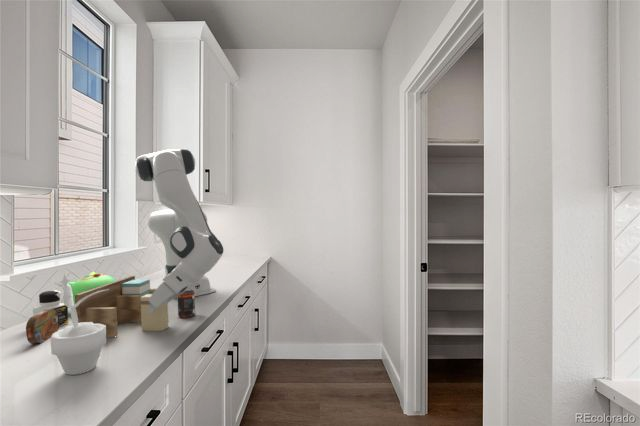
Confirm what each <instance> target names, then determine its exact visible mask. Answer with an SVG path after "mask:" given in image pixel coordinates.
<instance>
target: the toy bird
mask: <svg viewBox="0 0 640 426" xmlns="http://www.w3.org/2000/svg"><path fill="white" fill-rule="evenodd" d="M114 281H117V280H116V279H115V278H114V277H113V276H110V275H108V274H101V273H100V272H99V273H98V272H95V271H91V272H90V273H89V274H88V275H86V276H83V277H81V278H79V279H77V280H76V281H70V282H68V284H69V285H71V288H72V293H73V301H74V305H75V295H76V294H79V293H82V292H85V291H88V290H91V289H94V288H97V287H100V286H103V285H105V284H108V283H111V282H114ZM58 286H59V287H61V288H62V286H60V285H58Z"/></svg>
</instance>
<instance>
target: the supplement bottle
mask: <svg viewBox="0 0 640 426" xmlns="http://www.w3.org/2000/svg"><path fill="white" fill-rule="evenodd" d="M195 297H196V296H195V295H194V291H193V290H191V291H185V292H184V293H183V294H181V295H179V296H178V298H176V299H177V316H178V318H183V319H184V318H192V317H194V316H195V315H196V304H195V302H196V300H195V299H196V298H195Z"/></svg>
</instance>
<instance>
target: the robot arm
mask: <svg viewBox="0 0 640 426" xmlns="http://www.w3.org/2000/svg"><path fill="white" fill-rule="evenodd" d="M195 168H196V158H195V156H194V154H193V153H192V151H191V150H189V149H188V148H179V149H165V150H160V151H157V152H156V151H155V152H152V153H148V154H142V155H140V156H137V158H135V165H134V170H135V172H136V174H137V176H138V177H139V178H140V180H141V181H143V182H153V181H154V185H155V189H156V192H157V197H158V201H159V202H160V204H161V205H162V206H164V207H166V208H168V209H162V210H158V211H153V212H152V213H151V214H150V215H149V217H148V220H147V225H148V228H149V230H150V231H151V232H152V233H154V234H155V235H156V236H157V237H158V238H159V239H160V240H161V242H162V244H163V245H164V250H165V260H166V261H165V262H166V263H165V268H164V272H165V276H164V277H163V278H162V281H163V282H161V283H160V285H158V287H157V289H156V290H155V291H154V293H153V294H152V295H151V296H150V298H149V300H148V302H149V303H150V304H151V305H150V307H149V308H148V309H147V312H148V313H149V314H151V313H153V312H154V311H155V310H156V308H158V307H160V306H162V305H163V304H165V303H167V302H168V304H169V303H170V302H171V301H172V300H174V299H177V298H178V296H179V295H181V294H183V293H184V292H185V291H191V290H193V291H194V295H195V297H197V296H203V295H207V294H208V295H209V294H212V293H215V292H216V288H215V287H214V286H211V283H210V280H209V278H208V277H207V276H206V274H207V273H208V272H210V271H211V270H212V269H213V268H214V267H215V266H216V264H217V263H218V262H219V261H220V260H221V258H222V256H223V254H224V246H223V244H222V243H221V241H220V240H219V239H218V238H217V236H216V235H215V234H214V233H213V232H212V230H211V229H210V227H209V224H208V217H207V215H206V213H205V212H204V211H203V209H202V206H201V205H200V203H199V201H198V200H197V199H198V198H197V197H196V196H195V193H194V192H193V189H192V187H191V185H190V182H189V179H188V176H187V175H189V174H192V173H194V171H195Z"/></svg>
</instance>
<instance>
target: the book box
mask: <svg viewBox="0 0 640 426" xmlns="http://www.w3.org/2000/svg"><path fill="white" fill-rule="evenodd" d="M151 295H152V294H147V295H144V296H142V297H141V301H140V302H141V331H142V332H146V331H149V332H157V331H158V332H160V331H162V332H163V331H164V330H165V329H167V328H169V308H168V307H169V305H168V304H169V303H168V302H167V303H165V304H163V305H162V306H160V307H158V308H156V310H155V311H154V312H153V313H151V314H149V313H148V312H147V309H148V308H149V307H150V305H151V304H150V303H149V302H148V300H149V298H150V296H151Z"/></svg>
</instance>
